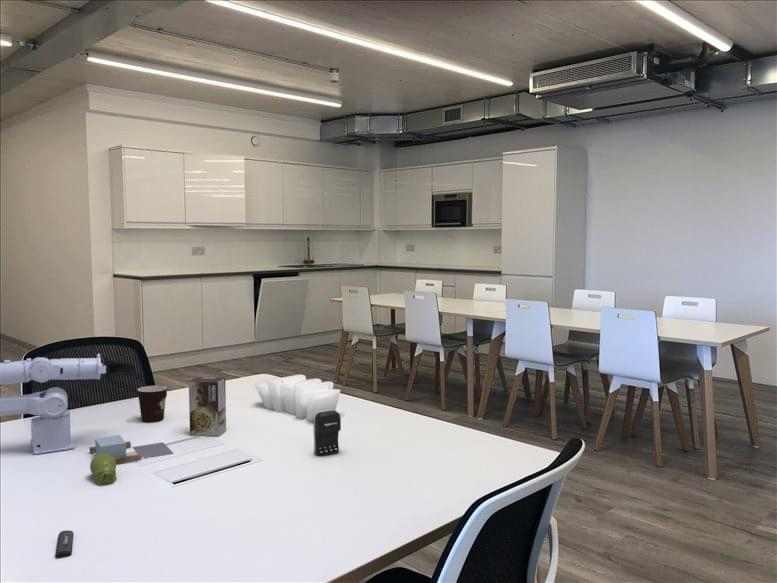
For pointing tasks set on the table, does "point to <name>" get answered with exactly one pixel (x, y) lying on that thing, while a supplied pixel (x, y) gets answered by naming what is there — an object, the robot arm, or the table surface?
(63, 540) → the usb stick
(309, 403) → the white wavy slab sculpture
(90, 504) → the table surface
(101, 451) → the block
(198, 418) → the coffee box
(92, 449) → the chute
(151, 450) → the mat
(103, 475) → the pear
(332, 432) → the battery charger
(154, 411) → the coffee mug
